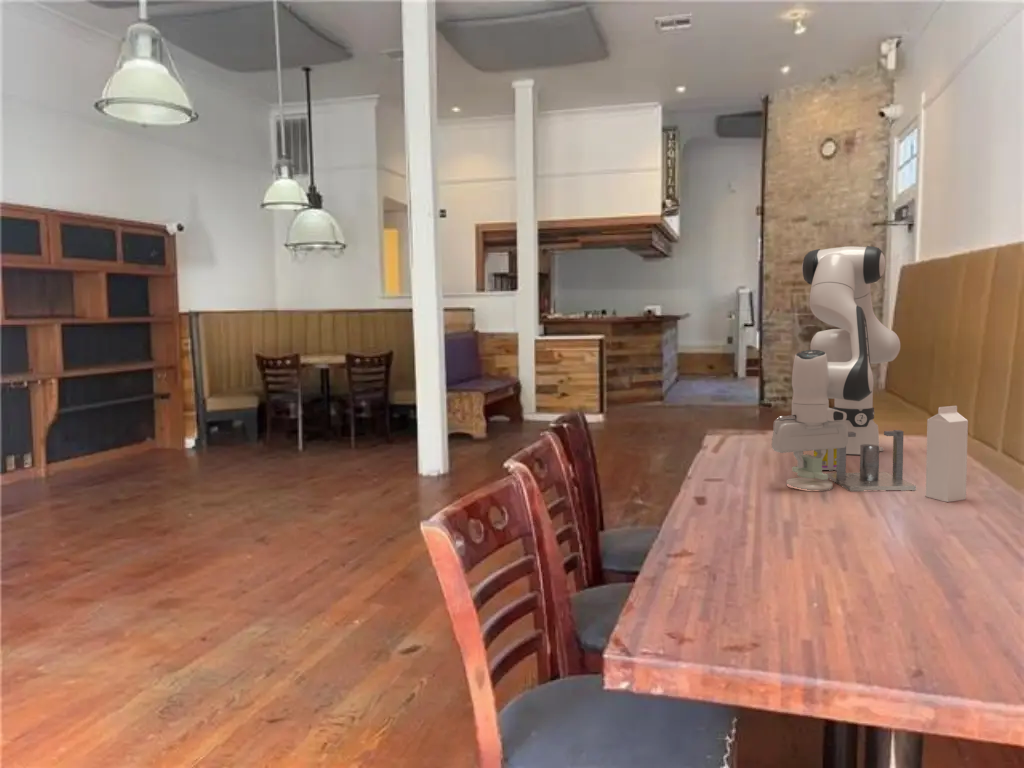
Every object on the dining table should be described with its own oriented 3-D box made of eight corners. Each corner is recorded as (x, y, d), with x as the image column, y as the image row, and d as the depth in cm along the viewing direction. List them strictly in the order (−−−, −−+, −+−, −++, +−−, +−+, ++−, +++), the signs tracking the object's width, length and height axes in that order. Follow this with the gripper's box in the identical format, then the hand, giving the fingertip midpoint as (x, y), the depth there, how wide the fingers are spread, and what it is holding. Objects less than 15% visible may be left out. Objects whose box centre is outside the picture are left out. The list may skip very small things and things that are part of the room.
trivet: (780, 482, 198) (780, 477, 198) (823, 481, 198) (823, 477, 198) (794, 491, 187) (794, 487, 187) (839, 491, 187) (839, 486, 187)
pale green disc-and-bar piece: (804, 470, 199) (804, 452, 198) (835, 479, 188) (835, 459, 187) (785, 472, 197) (785, 453, 196) (815, 481, 186) (815, 461, 186)
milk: (925, 497, 179) (926, 405, 177) (943, 494, 181) (945, 404, 180) (948, 502, 174) (949, 408, 172) (966, 499, 176) (968, 406, 174)
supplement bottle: (834, 466, 216) (834, 422, 215) (842, 471, 209) (842, 426, 208) (810, 466, 217) (810, 423, 216) (817, 471, 210) (817, 426, 209)
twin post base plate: (826, 477, 202) (826, 427, 201) (886, 476, 202) (887, 425, 200) (850, 491, 186) (851, 436, 185) (915, 490, 186) (917, 435, 184)
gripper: (781, 418, 186) (780, 472, 187) (852, 413, 190) (851, 466, 192) (766, 414, 192) (766, 467, 193) (836, 410, 196) (835, 462, 198)
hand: (809, 467), depth 192 cm, fingers closed on pale green disc-and-bar piece, 3 cm apart
